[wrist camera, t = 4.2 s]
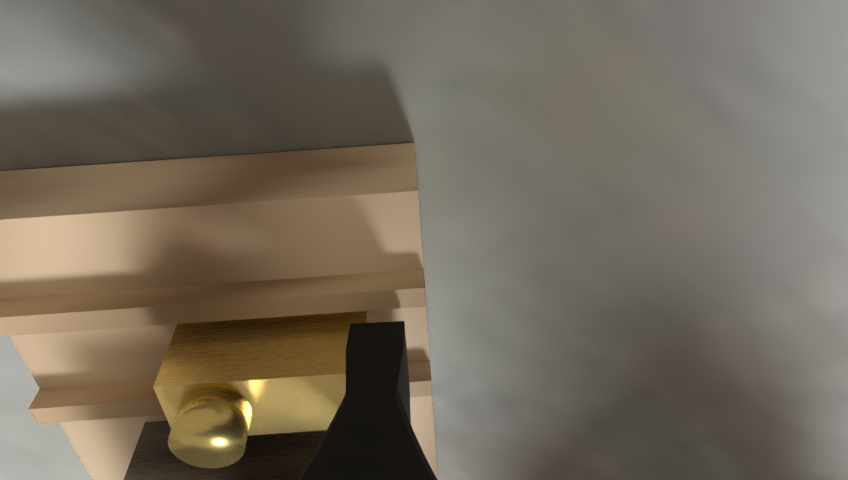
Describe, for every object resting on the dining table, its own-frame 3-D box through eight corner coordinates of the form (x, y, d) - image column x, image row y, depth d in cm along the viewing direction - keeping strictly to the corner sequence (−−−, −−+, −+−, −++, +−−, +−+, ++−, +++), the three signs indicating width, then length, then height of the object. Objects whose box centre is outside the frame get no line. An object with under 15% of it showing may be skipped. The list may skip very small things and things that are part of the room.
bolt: (367, 302, 14) (362, 405, 12) (374, 355, 15) (371, 460, 13) (180, 316, 14) (139, 420, 12) (198, 368, 15) (165, 474, 13)
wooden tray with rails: (414, 142, 14) (419, 207, 12) (437, 478, 21) (443, 556, 19) (-4, 171, 14) (-74, 242, 12) (157, 497, 21) (131, 579, 19)
